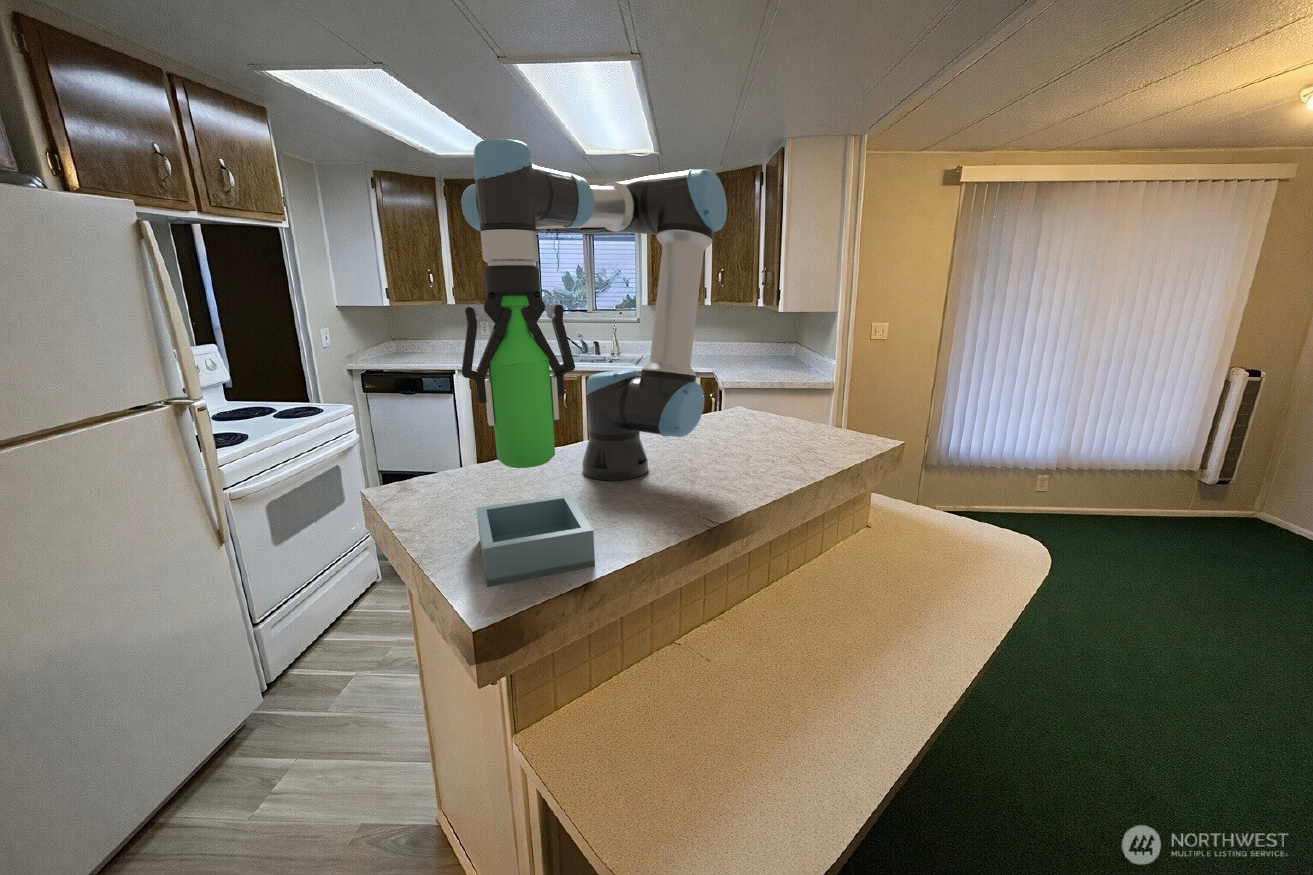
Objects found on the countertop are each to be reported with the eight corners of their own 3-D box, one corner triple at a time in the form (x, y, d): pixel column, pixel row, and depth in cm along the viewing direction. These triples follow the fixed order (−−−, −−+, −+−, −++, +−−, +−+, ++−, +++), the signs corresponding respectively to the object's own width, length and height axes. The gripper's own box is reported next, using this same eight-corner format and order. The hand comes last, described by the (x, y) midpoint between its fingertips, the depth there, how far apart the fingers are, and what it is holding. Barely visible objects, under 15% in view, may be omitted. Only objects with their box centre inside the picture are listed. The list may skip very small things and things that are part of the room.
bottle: (501, 473, 79) (485, 295, 72) (493, 456, 87) (477, 294, 80) (561, 465, 83) (551, 293, 76) (548, 449, 90) (538, 293, 83)
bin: (572, 524, 99) (570, 493, 97) (594, 565, 84) (593, 530, 83) (479, 540, 93) (476, 507, 92) (487, 586, 79) (483, 548, 77)
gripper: (580, 265, 84) (587, 409, 90) (429, 265, 77) (447, 422, 83) (592, 263, 77) (599, 419, 83) (428, 263, 70) (448, 434, 76)
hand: (523, 420), depth 83 cm, fingers closed on bottle, 9 cm apart
